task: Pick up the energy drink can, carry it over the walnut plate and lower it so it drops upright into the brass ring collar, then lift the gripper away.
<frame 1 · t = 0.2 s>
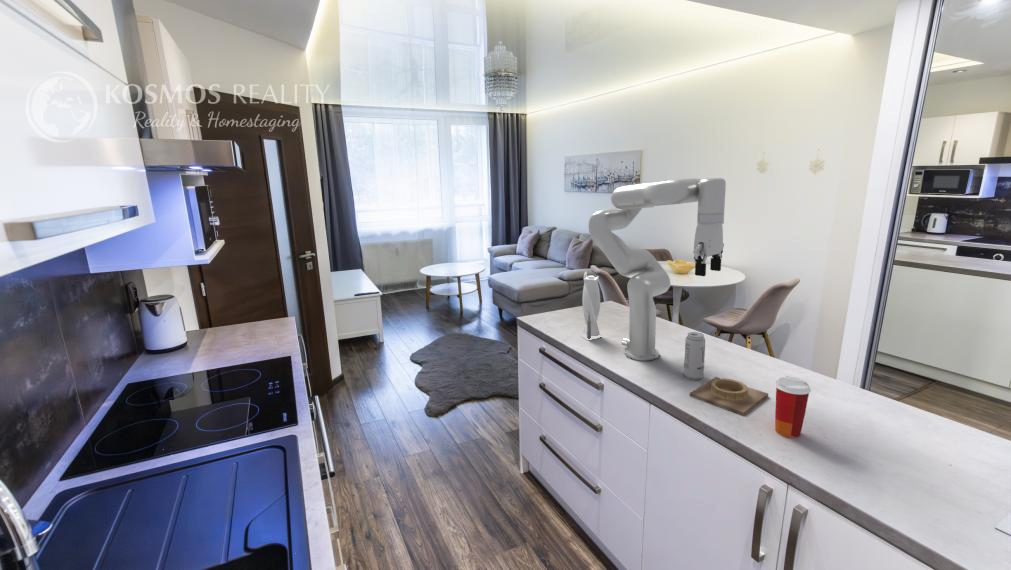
hand: (707, 273, 140), 35 cm above the worktop, tool pointing down, fingers open, 9 cm apart
ring stand: (728, 396, 134), on the worktop
paper cup: (787, 432, 114), on the worktop
skyscraper: (590, 336, 190), on the worktop
energy drink can: (693, 377, 147), on the worktop
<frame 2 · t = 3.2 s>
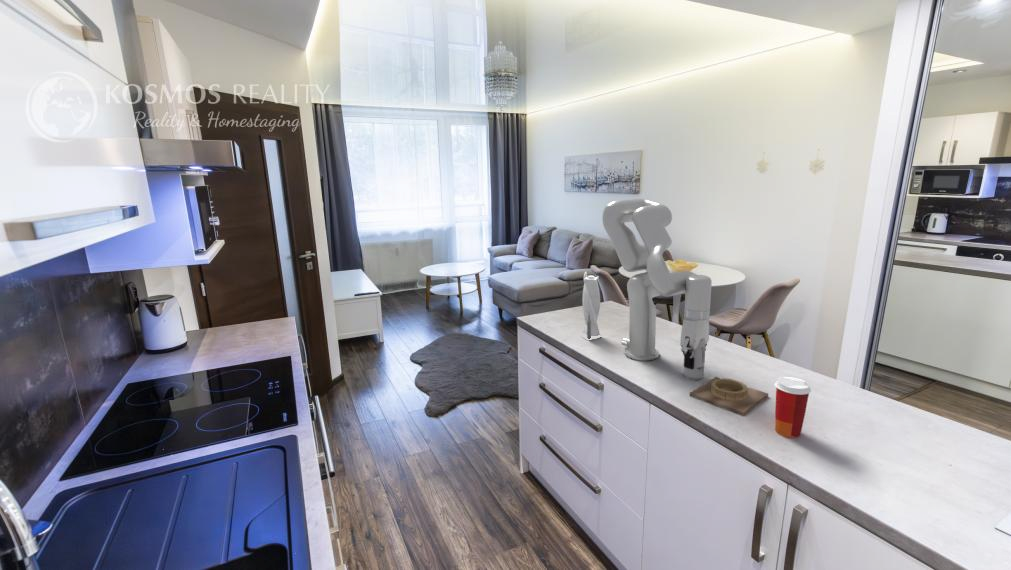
hand: (694, 364, 146), 4 cm above the worktop, tool pointing down, fingers closed on energy drink can, 6 cm apart
energy drink can: (693, 377, 147), on the worktop, touching gripper
everything else where it was.
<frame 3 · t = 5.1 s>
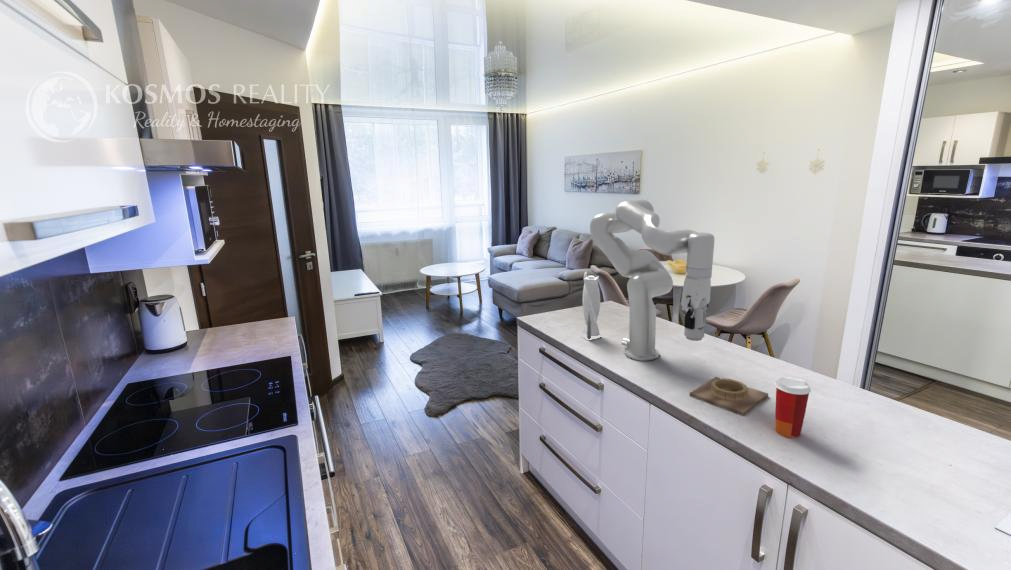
hand: (694, 325, 144), 18 cm above the worktop, tool pointing down, fingers closed on energy drink can, 6 cm apart
energy drink can: (693, 338, 145), point 13 cm above the worktop, touching gripper
everything else where it was.
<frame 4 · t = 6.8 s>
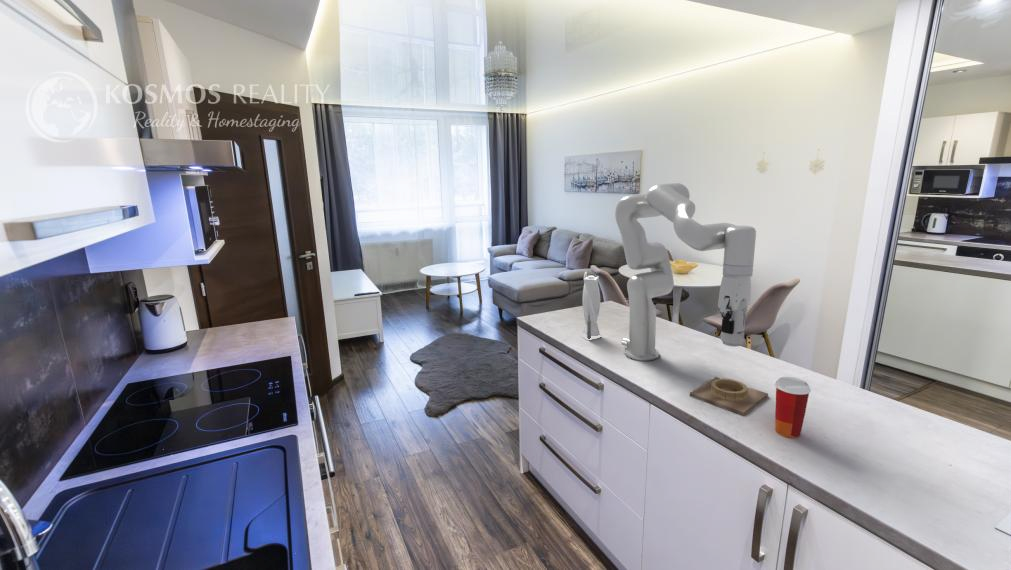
hand: (732, 329, 129), 21 cm above the worktop, tool pointing down, fingers closed on energy drink can, 6 cm apart
energy drink can: (731, 344, 130), point 17 cm above the worktop, touching gripper
everything else where it was.
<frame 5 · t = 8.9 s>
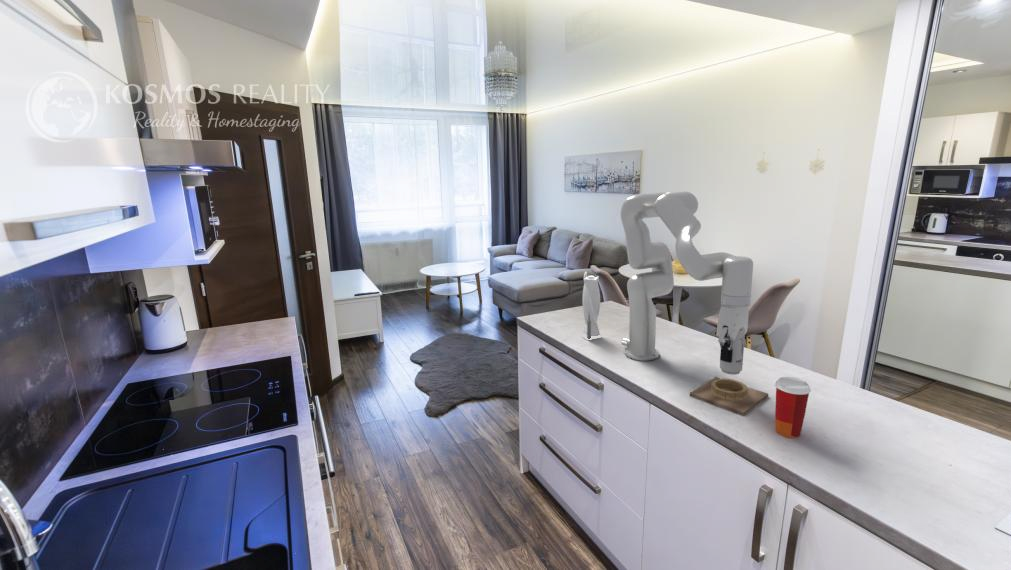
hand: (731, 357, 131), 13 cm above the worktop, tool pointing down, fingers closed on energy drink can, 6 cm apart
energy drink can: (730, 371, 132), point 8 cm above the worktop, touching gripper
everything else where it was.
when the fingers open (8 cm above the worktop, at t = 10.4 s): energy drink can drops 3 cm, point 1 cm above the worktop.
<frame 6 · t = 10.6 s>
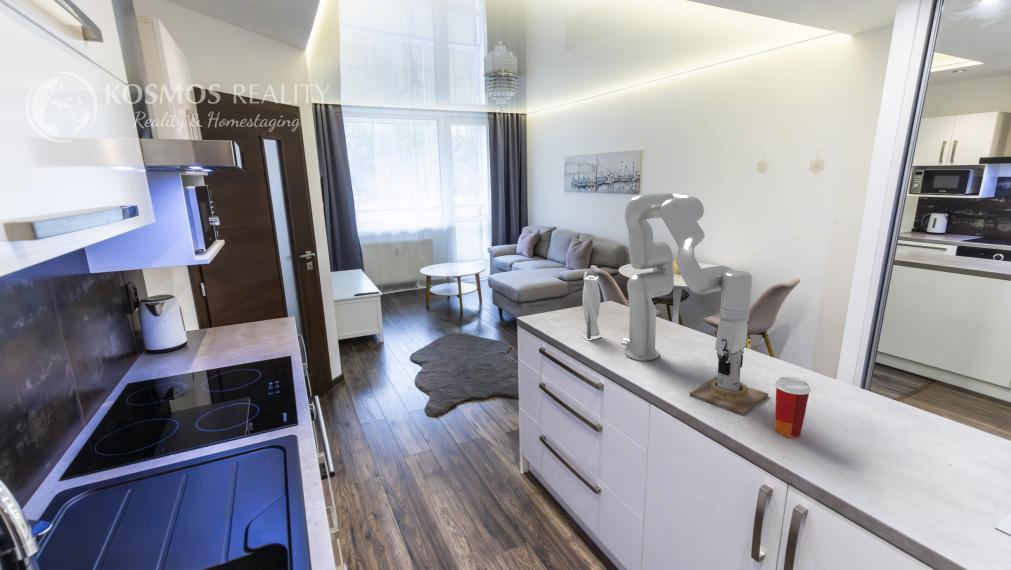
hand: (730, 369, 132), 9 cm above the worktop, tool pointing down, fingers open, 7 cm apart
energy drink can: (727, 393, 134), point 1 cm above the worktop, touching gripper
everything else where it was.
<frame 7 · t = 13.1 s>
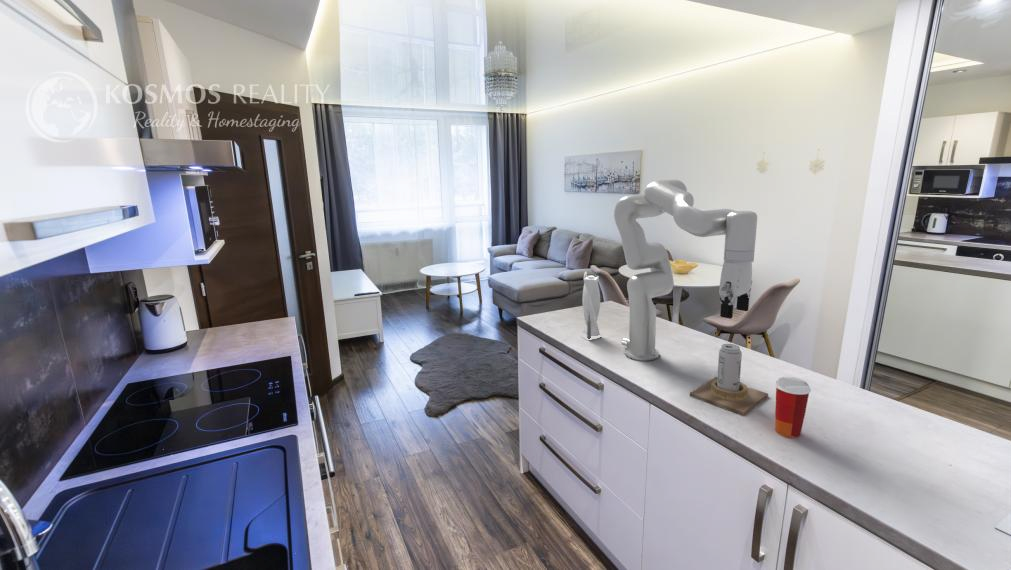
hand: (734, 313, 128), 26 cm above the worktop, tool pointing down, fingers open, 9 cm apart
energy drink can: (727, 393, 134), point 1 cm above the worktop, touching ring stand
everything else where it was.
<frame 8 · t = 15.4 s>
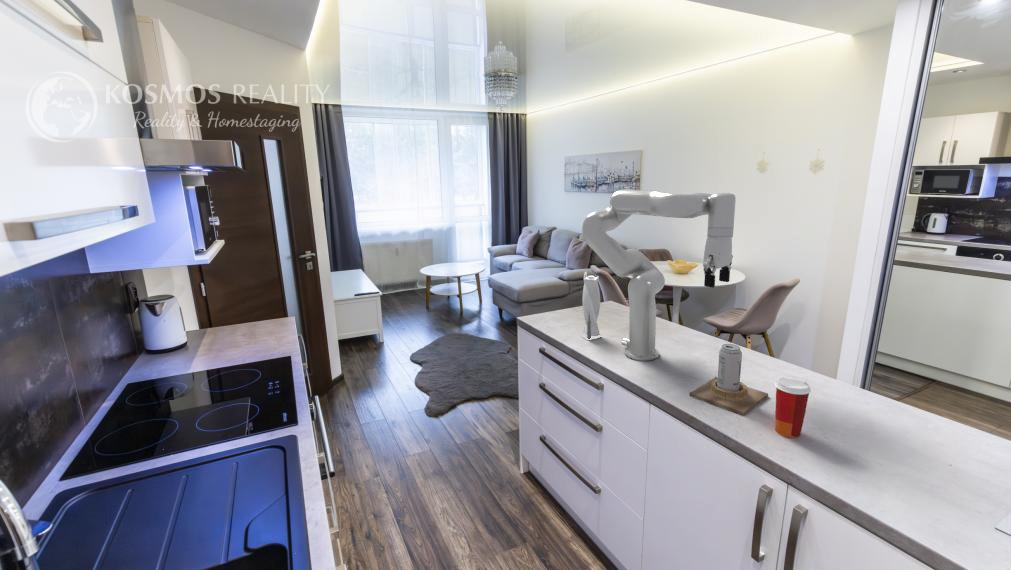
hand: (716, 284, 146), 30 cm above the worktop, tool pointing down, fingers open, 9 cm apart
nothing on the worktop moved.
at the end: energy drink can 0.3 cm off-centre on the ring stand, point 0.8 cm above the ring stand's base; energy drink can tilted 0°; the gripper is holding nothing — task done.
